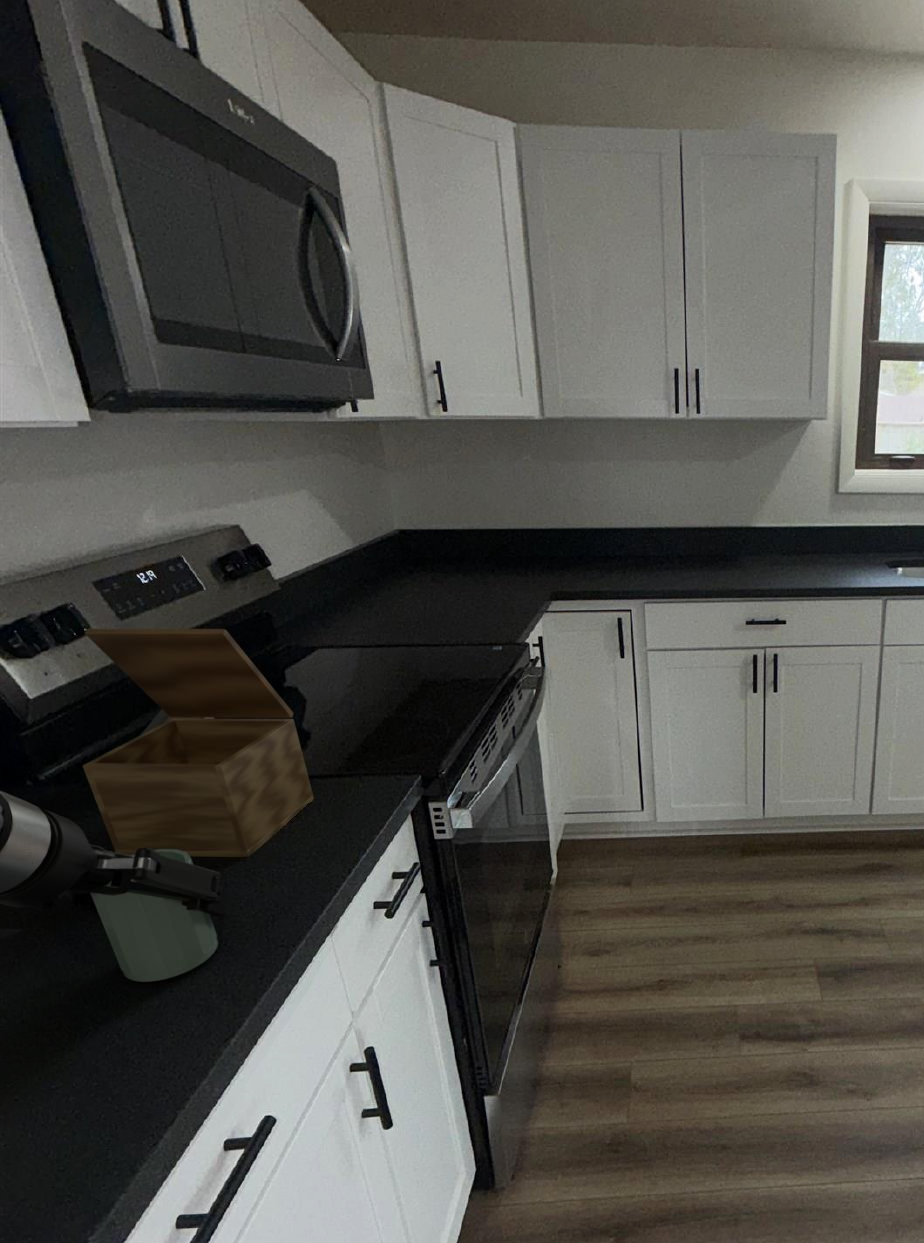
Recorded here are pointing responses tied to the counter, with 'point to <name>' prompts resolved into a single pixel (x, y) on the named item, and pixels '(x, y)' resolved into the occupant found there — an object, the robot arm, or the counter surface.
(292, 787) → the chest
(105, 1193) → the counter surface
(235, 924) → the counter surface
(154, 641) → the lid
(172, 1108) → the counter surface
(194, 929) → the cup
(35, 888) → the robot arm
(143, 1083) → the counter surface
